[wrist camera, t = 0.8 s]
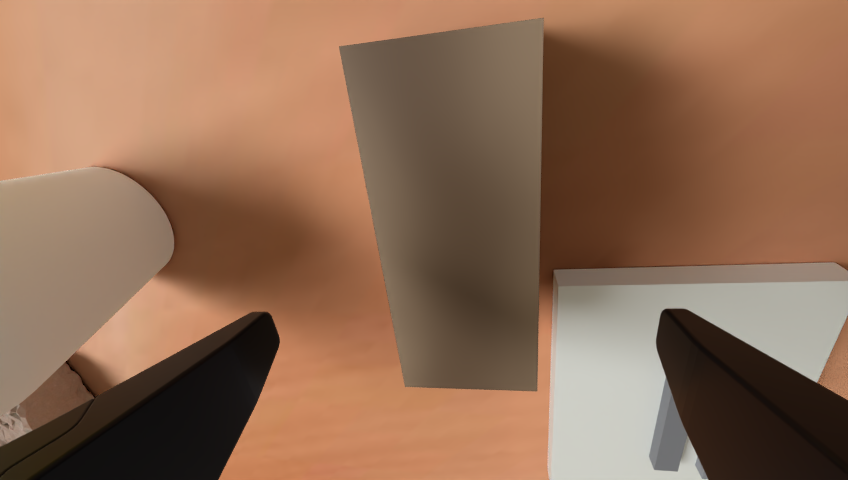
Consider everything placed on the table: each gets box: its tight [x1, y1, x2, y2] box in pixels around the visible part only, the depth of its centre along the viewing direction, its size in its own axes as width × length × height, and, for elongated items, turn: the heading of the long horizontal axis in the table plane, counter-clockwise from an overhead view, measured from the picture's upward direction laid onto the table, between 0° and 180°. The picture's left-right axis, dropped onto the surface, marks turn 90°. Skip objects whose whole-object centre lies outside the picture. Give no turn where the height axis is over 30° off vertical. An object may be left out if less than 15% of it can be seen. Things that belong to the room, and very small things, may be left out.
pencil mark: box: [649, 378, 687, 472], centre depth 20 cm, size 1×8×1 cm, turn 7°
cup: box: [0, 167, 174, 416], centre depth 17 cm, size 9×9×12 cm
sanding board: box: [548, 262, 848, 480], centre depth 21 cm, size 12×16×2 cm
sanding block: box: [339, 18, 544, 391], centre depth 15 cm, size 5×12×7 cm, turn 7°
